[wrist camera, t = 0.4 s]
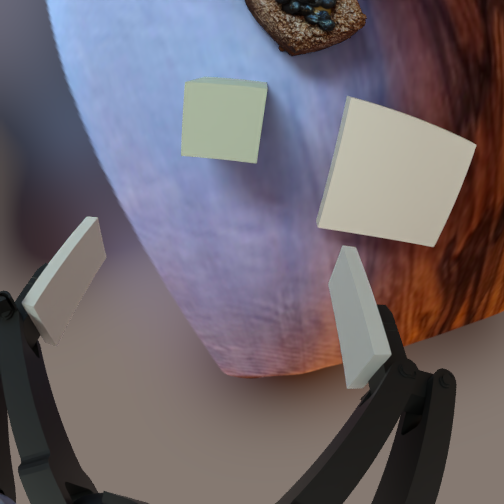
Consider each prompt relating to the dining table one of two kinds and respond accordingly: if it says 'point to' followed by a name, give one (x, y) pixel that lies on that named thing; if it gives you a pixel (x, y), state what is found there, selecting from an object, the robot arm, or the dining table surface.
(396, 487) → the robot arm
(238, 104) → the sage block
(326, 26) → the pastry
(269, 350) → the dining table surface
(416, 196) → the serving stand
